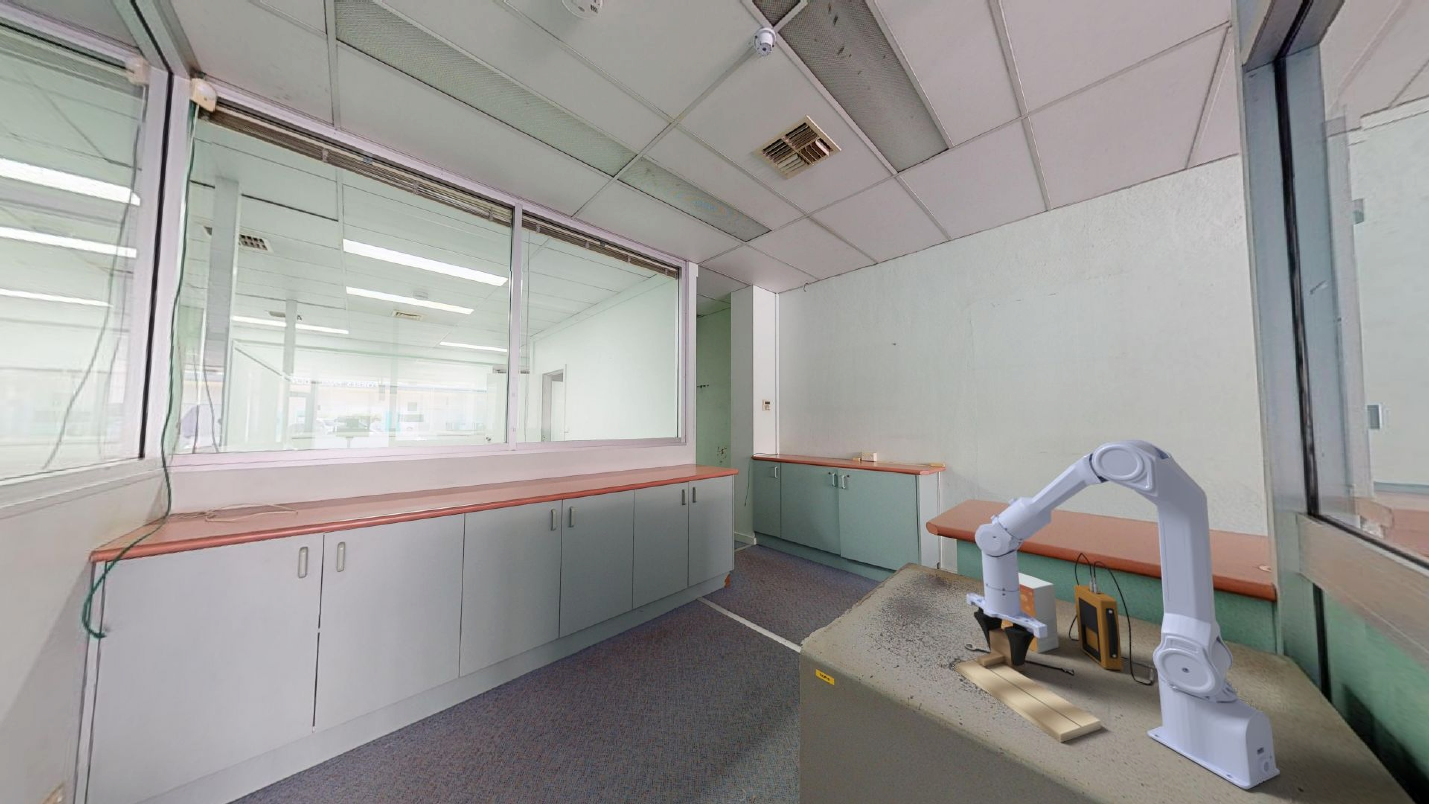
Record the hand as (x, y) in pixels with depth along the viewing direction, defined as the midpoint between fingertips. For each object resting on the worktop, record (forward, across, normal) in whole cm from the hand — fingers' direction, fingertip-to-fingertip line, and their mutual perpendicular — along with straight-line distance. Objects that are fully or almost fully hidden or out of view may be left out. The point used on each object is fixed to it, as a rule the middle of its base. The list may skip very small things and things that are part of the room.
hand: (1006, 657), depth 76 cm
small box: (+2, -5, +13) cm, 14 cm away
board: (+2, +7, -6) cm, 9 cm away
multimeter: (+2, +6, +22) cm, 22 cm away
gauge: (+2, 0, -2) cm, 3 cm away
